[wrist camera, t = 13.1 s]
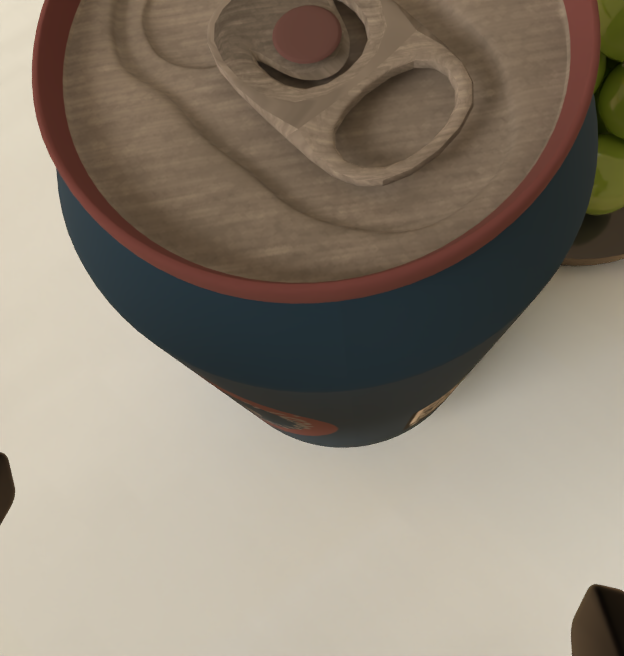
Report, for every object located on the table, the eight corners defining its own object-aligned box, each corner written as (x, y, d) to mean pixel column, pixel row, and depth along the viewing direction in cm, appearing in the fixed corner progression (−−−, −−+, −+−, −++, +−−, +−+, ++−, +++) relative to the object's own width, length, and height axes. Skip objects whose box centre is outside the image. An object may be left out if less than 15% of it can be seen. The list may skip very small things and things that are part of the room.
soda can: (180, 325, 18) (-149, 28, 6) (349, 179, 19) (328, -318, 7) (336, 504, 16) (268, 540, 5) (515, 335, 17) (836, 11, 6)
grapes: (546, 321, 17) (685, 192, 10) (375, 116, 19) (382, -114, 12) (771, 164, 18) (1061, -67, 10) (581, -17, 20) (708, -312, 13)
